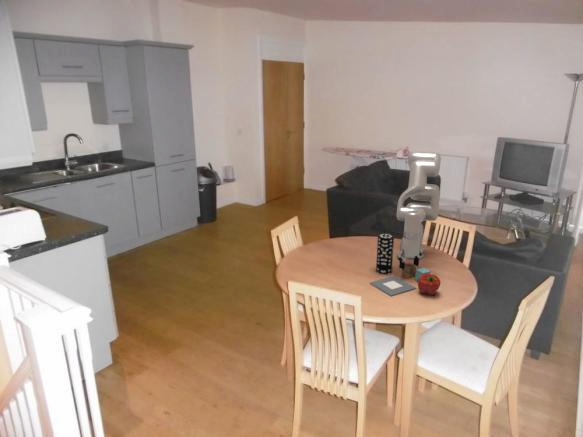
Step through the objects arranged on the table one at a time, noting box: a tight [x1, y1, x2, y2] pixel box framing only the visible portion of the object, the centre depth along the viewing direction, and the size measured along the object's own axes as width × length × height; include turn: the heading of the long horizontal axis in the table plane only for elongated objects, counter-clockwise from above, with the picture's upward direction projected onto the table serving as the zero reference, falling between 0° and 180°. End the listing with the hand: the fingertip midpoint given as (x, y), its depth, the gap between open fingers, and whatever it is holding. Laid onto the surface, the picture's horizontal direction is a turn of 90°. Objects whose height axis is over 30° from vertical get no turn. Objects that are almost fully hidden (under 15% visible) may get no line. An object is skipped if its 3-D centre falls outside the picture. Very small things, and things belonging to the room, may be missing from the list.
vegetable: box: [417, 273, 442, 296], centre depth 201 cm, size 11×10×10 cm
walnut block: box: [400, 262, 417, 280], centre depth 221 cm, size 5×5×6 cm
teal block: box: [414, 267, 432, 282], centre depth 215 cm, size 5×5×6 cm
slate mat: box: [369, 275, 417, 297], centre depth 210 cm, size 16×16×1 cm
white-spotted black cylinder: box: [375, 233, 395, 275], centre depth 225 cm, size 8×8×20 cm
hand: (408, 266), depth 219 cm, fingers open, 9 cm apart
